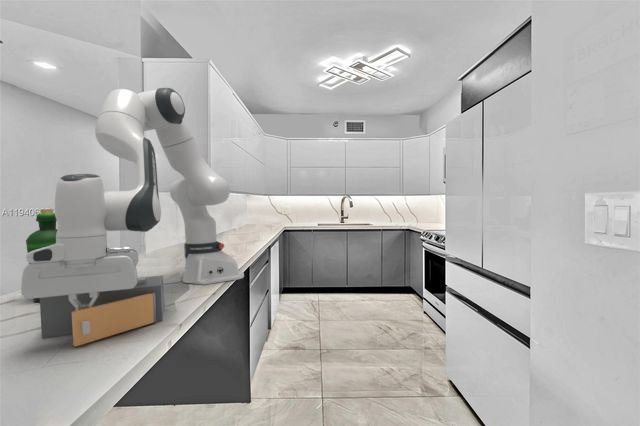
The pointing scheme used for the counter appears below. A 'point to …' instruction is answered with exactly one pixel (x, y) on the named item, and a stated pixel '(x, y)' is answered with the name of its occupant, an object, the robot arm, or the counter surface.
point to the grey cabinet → (60, 308)
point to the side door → (112, 318)
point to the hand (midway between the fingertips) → (85, 313)
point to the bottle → (43, 233)
